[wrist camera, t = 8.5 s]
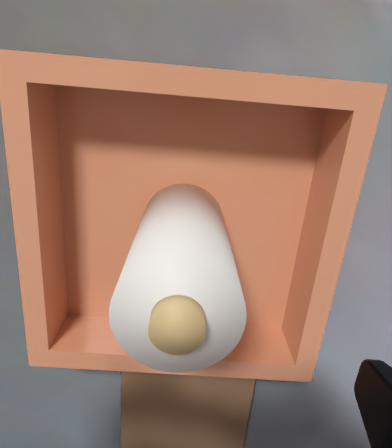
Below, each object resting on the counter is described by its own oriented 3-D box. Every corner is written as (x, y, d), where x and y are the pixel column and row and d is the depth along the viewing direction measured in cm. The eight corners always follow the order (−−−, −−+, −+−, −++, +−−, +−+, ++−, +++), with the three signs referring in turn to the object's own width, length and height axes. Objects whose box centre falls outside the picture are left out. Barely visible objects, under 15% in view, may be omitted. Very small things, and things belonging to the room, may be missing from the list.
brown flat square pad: (238, 452, 25) (240, 464, 24) (122, 446, 24) (120, 458, 24) (254, 361, 22) (257, 371, 21) (123, 353, 21) (121, 362, 21)
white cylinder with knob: (219, 260, 19) (240, 391, 11) (142, 255, 18) (105, 384, 10) (227, 186, 17) (259, 271, 9) (144, 180, 17) (103, 261, 9)
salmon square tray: (292, 336, 21) (311, 382, 18) (55, 321, 21) (29, 365, 17) (348, 84, 16) (388, 84, 13) (36, 56, 16) (-6, 48, 12)
